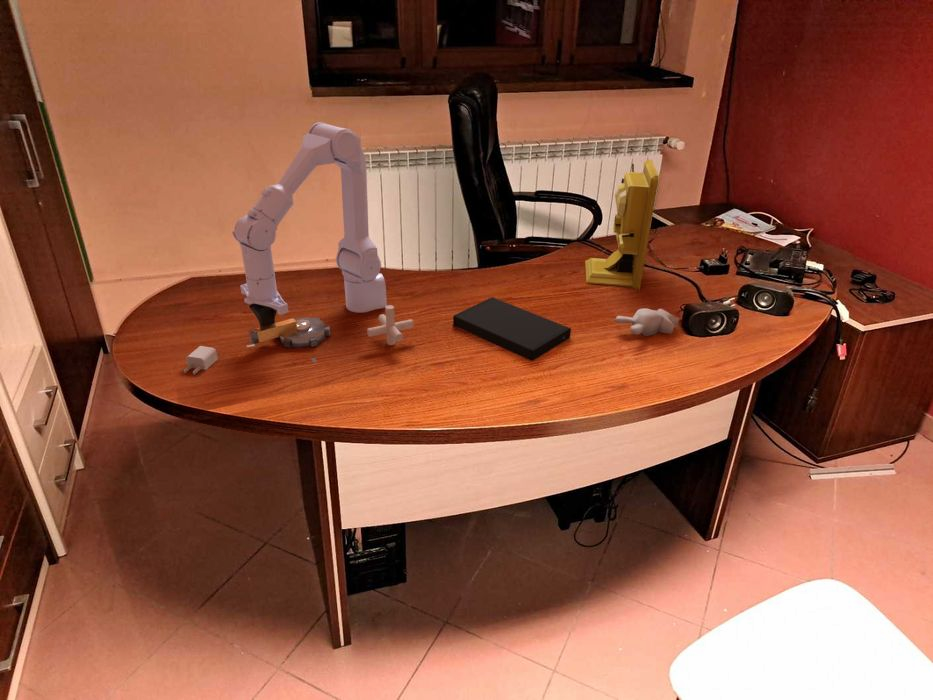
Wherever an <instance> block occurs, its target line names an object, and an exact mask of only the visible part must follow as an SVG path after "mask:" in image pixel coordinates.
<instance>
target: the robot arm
mask: <svg viewBox="0 0 933 700" xmlns="http://www.w3.org/2000/svg"><path fill="white" fill-rule="evenodd" d="M330 164H336V165H337V166H338V167H339V168H340V177H341V178H340V179H341V197H342V201H341V203H342V217H343V238H341V239H340V240H339V241H338V248H337V249H338V250H337V252H336V253H337V254H336V256H335V263H336V265H337V267H338V268H339V270H341V274H342V275H343V281H344V283H343V284H344V293H345V294H344V295H345V296H344V297H345V307H346V309H347V310H348V311H350V312H353V313H368V312H370V311H374V310H379V309H385V307H386V306H388V303H387V302H388V301H387V286H386V281H385V280H386V279H385V277H384V276H383V273H380V271H381V268H382V263H381V262H382V261H381V259H380V257H379V254H378V247H377V246H376V245H375V243H374V242H373V241H372V239H371V237H370V234H369V233H370V232H369V207H368V177H367V176H368V175H367V158H366V155H365V152H364V150H363V148H362V142H361V137H360V135H358V134H356V132H354V131H353V130H351V129H350V128H344V127H339V126H335V125H332V124H328V123H326V122H321V121H320V122H315V123H314V124H312V125H311V126H310V128H309V129H308V131H307V133H305V134H304V135H303V137H302V142H301V147H300V149H299V150H298V152H297V153H296V155H295V157H294V158H293V160H292V161H291V163H290V164H289V166H288V168H287V169H286V170H285V172H284V173H283V175H282V177H281V178H280V180H279V182H278V183H277V184H272V185H271V184H270V185H267V186H268V187H267V188H263V190H262V191H261V193H260V194H261V196H260V197H259V198H258V200H257V202H256V203H255V204H254V206H252V208H250V209H249V210H248V212H247V215H243V216H241V217H240V218H238V219H237V221H236V222H235V225H234V230H232V236H233V238H234V239H235V241H237V243H239V246H240V249H241V256H242V262H243V268H244V274H245V281H246V283H244V284H241V285H240V284H239V285H240V286H239V287H240V293H241V294H242V295H245V296H246V297H245V298H244V299H243V301H244V303H245V304H247V305H249V310H250V311H252V312H253V314H254V316H255V317H256V319H257V321H258V323H259V326H260V327H262V326H266V325H270V324H273V323H276V315H277V314H278V315H279V316H282V315H284V314H287V313H289V305H288V303H287V302H285V301H284V299H283V298H282V296H281V294H280V293H279V291H278V287H277V281H276V273H275V266H274V260H273V251H272V246H271V245H273V244H274V243H275V242H276V238H277V236H276V235H277V234H276V232H277V230H278V227H279V225H280V223H281V222H282V221H283V220H284V218H285V216H286V215H287V214H288V212H289V211H290V209H291V208H292V207H293V205H294V198H293V196H294V193H296V192H297V191H298V189H299V188H300V187H301V186H302V184H303V183H304V182H305V181H306V180H307V179H308V177H309V176H310V175H311V174H312V172H313V171H314V170H315V169H316V168H317V167H318V166H325V165H330Z"/></svg>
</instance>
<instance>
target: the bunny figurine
mask: <svg viewBox="0 0 933 700" xmlns="http://www.w3.org/2000/svg"><path fill="white" fill-rule="evenodd" d="M679 320H680V318H678V317H676V315H673V314H672V313H669V312H668V311H667V310H664V309H663V308H658V309H657V310H655V309H650V308H644V307H643V308H640V309H637V310H636V312H635V314H633V316H632V317H630V316H622V315H617V316H616V317H615V319H614V322H615V323H619V324H620V323H621V324H622V323H623V324H625V323H626V324H627V323H630V324H631V326H630V331H631V334H634V335H638V336H639V335H641V334H642V335H643V336H645V337H646V336H654V335H656V334H658V333H665V334H673V333H674V330H675V327H676V326H678V324H679Z"/></svg>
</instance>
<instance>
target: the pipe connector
mask: <svg viewBox="0 0 933 700" xmlns="http://www.w3.org/2000/svg"><path fill="white" fill-rule="evenodd" d="M384 309H385V310H384V311H385V314H384V313H383V314H379V315H378V318H377V320H378V322H380V324H381V325H378V326H374V327H368V328H367V329H366V334H367V336H368V337H369V338H371V337H376V336H380V335H385V334H386V344H387V346H388V345H389V346H393V345H395V344H396V342H398V343H399V342H402V340H403V339H404V335H403V333H401V331H402V330H403V331H404V330H408V329H411V328H415V327H414V326H415V325H414V324H415V323H414V321H413V319H412V318H409V319H406V320H401V321H397V322H395V320H396V319H395V307H394V305H390V304H389V305H388V304H387V306H386V307H385V308H384Z"/></svg>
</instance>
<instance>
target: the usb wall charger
mask: <svg viewBox="0 0 933 700" xmlns="http://www.w3.org/2000/svg"><path fill="white" fill-rule="evenodd" d="M185 358H186V363H187V366H186V367H185V369H183V372H184V374H186V373H187V372H188V371H189V370H191V369H194V370H193V371H192V373H193V375H195V374H197V373H198V372H199V371H200V370H203V371H206V370H208V369H209V368H210V367H211V366H212V365H213V364H214V363H216V362H217V361H218V359H219V357H218V353H217V350H216V348H214V347H210V346H204V345H199V346H198V347H197V348H195V349H194V350H193V351H192V352H191V353H190V354H188V356H186V357H185Z"/></svg>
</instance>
